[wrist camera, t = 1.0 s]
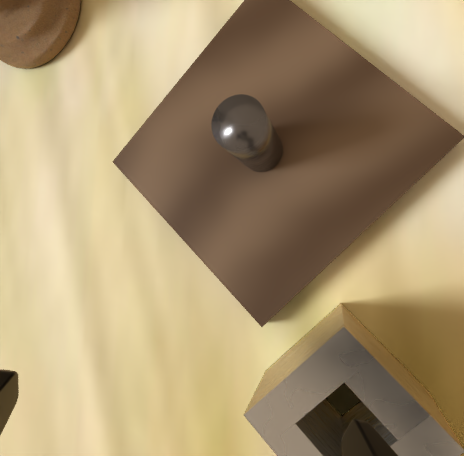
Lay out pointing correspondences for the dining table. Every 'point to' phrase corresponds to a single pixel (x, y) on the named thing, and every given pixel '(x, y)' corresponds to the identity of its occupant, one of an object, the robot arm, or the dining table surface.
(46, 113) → the dining table surface
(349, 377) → the grey block
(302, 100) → the post base
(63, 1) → the candle holder
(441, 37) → the dining table surface
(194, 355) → the dining table surface
